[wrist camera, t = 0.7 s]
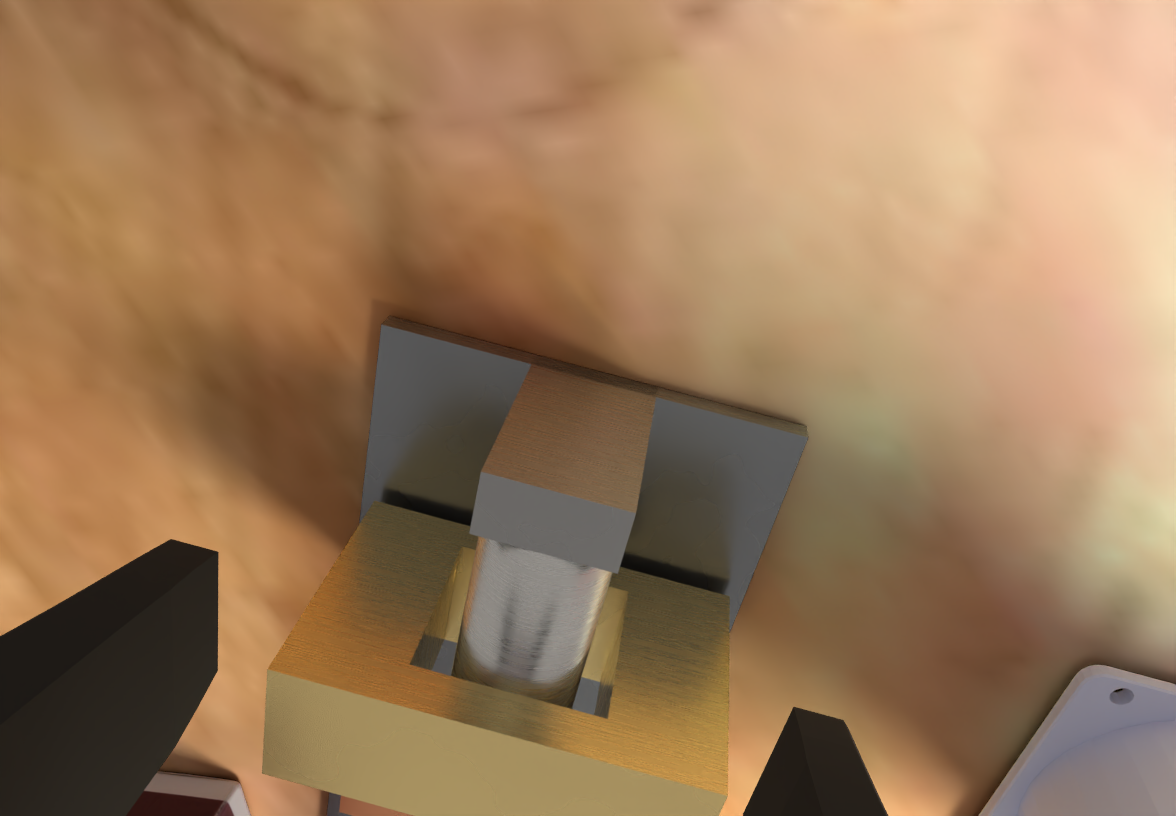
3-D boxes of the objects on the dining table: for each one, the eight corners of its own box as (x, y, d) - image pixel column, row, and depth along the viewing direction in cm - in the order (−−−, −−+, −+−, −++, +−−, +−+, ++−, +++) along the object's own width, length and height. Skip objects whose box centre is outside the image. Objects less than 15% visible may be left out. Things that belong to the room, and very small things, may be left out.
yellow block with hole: (374, 500, 21) (267, 669, 16) (729, 596, 21) (727, 796, 16) (363, 593, 23) (262, 773, 18) (695, 683, 23) (684, 890, 18)
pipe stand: (389, 315, 20) (288, 427, 15) (807, 426, 20) (827, 571, 15) (323, 887, 31) (253, 1050, 26) (592, 963, 30) (567, 1140, 26)
